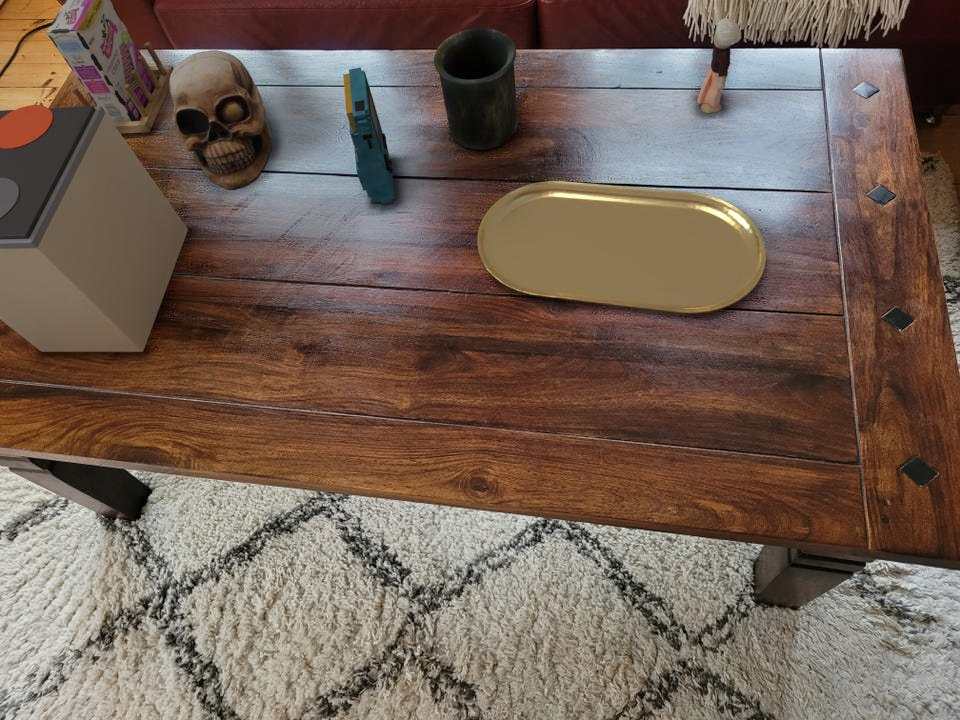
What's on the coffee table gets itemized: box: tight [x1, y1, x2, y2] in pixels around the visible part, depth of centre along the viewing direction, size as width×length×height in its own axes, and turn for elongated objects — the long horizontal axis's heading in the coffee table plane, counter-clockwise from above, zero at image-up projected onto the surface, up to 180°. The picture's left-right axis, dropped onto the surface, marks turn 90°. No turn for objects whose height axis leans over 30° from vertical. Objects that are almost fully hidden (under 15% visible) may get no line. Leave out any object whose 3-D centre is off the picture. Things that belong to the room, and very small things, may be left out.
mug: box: [433, 27, 519, 151], centre depth 95 cm, size 11×15×12 cm
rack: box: [70, 41, 175, 135], centre depth 109 cm, size 10×14×7 cm
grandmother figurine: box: [696, 17, 742, 114], centre depth 91 cm, size 8×4×13 cm, turn 3°
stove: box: [0, 104, 189, 353], centre depth 82 cm, size 14×20×22 cm
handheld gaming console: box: [342, 66, 396, 206], centre depth 90 cm, size 10×4×15 cm, turn 9°
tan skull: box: [169, 49, 273, 190], centre depth 99 cm, size 16×17×13 cm
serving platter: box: [476, 180, 767, 315], centre depth 85 cm, size 19×35×2 cm, turn 77°
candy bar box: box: [45, 0, 155, 122], centre depth 105 cm, size 11×5×16 cm, turn 178°
